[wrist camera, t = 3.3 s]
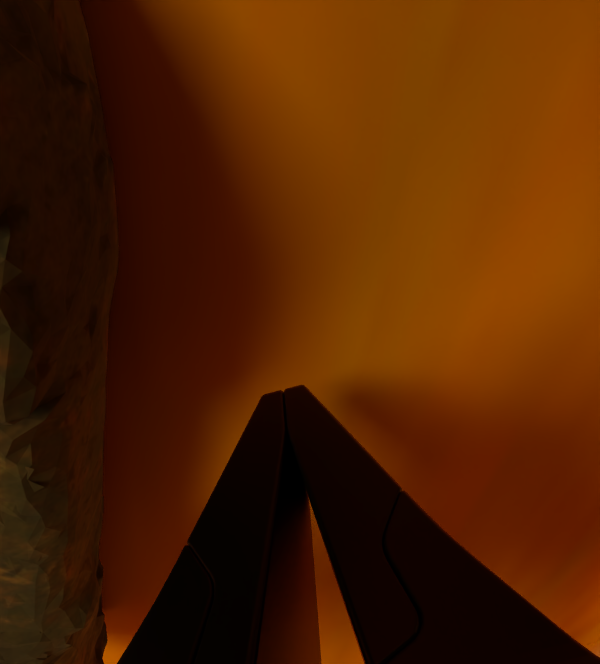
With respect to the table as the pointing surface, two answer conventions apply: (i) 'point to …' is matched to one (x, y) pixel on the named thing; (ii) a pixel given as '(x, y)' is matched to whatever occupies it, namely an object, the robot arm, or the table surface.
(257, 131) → the table surface
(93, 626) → the hand tool
